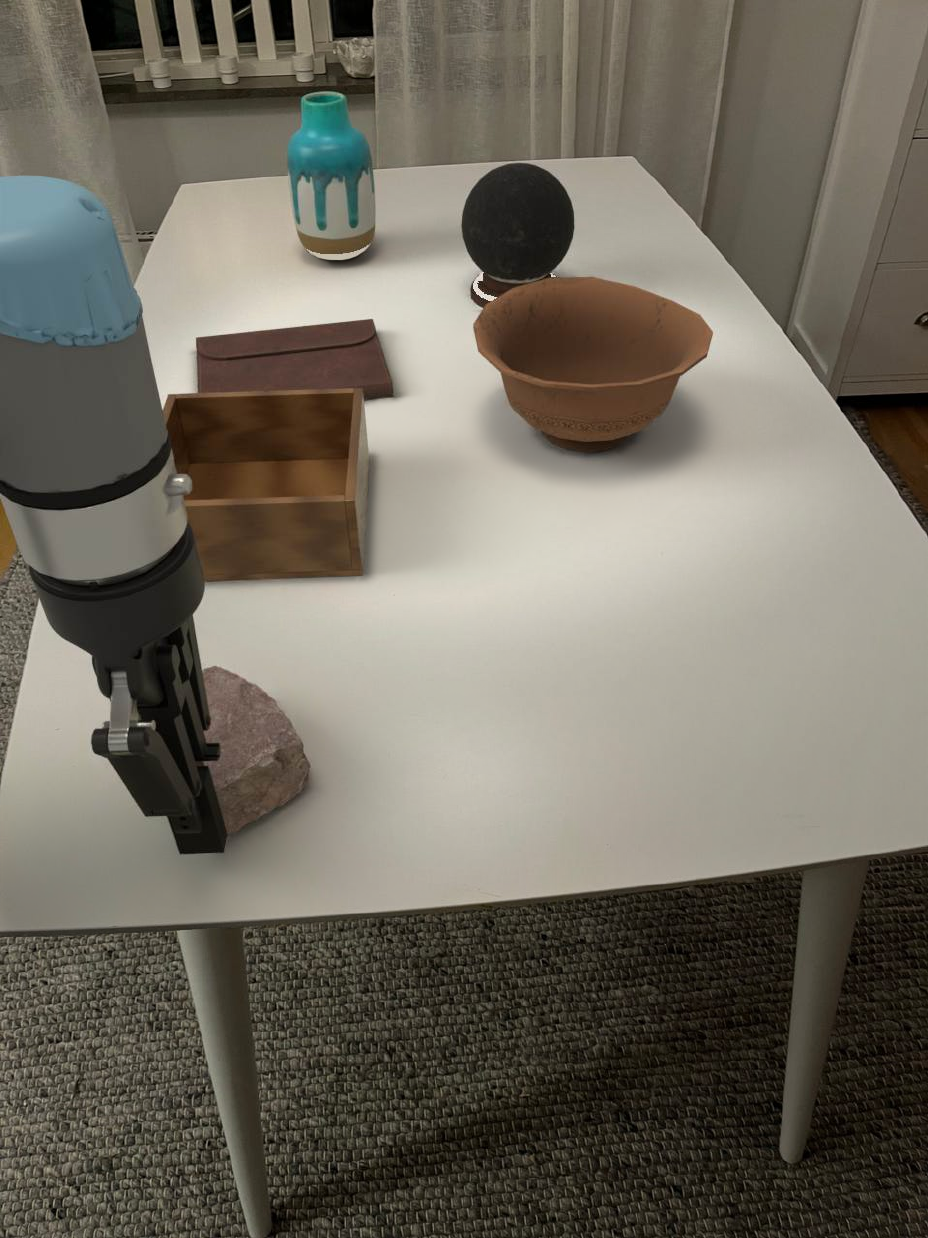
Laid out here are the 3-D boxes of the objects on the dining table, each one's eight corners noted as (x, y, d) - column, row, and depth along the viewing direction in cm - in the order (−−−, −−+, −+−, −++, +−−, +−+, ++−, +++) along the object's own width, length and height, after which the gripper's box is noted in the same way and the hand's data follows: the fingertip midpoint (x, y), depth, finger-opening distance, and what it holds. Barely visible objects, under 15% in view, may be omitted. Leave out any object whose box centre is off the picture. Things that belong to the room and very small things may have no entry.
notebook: (393, 397, 106) (392, 379, 104) (201, 419, 103) (197, 402, 102) (373, 332, 117) (372, 316, 115) (199, 351, 114) (195, 334, 113)
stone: (120, 749, 70) (104, 701, 67) (235, 689, 75) (224, 642, 72) (204, 858, 64) (190, 810, 60) (325, 786, 68) (318, 738, 65)
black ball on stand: (451, 277, 128) (448, 152, 118) (552, 266, 130) (558, 142, 120) (476, 323, 118) (476, 191, 108) (584, 310, 120) (594, 179, 110)
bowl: (640, 360, 111) (651, 262, 104) (737, 467, 95) (758, 361, 88) (447, 392, 106) (444, 292, 99) (515, 510, 91) (518, 401, 83)
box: (149, 583, 84) (127, 508, 79) (184, 464, 97) (168, 393, 92) (362, 575, 84) (354, 500, 79) (369, 458, 97) (362, 387, 92)
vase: (291, 246, 136) (271, 89, 123) (368, 235, 138) (357, 81, 125) (306, 277, 128) (286, 114, 115) (387, 266, 131) (377, 104, 118)
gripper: (164, 631, 42) (251, 936, 58) (212, 459, 52) (275, 760, 68) (-18, 637, 42) (119, 941, 58) (64, 464, 52) (162, 764, 68)
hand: (203, 843), depth 63 cm, fingers closed
